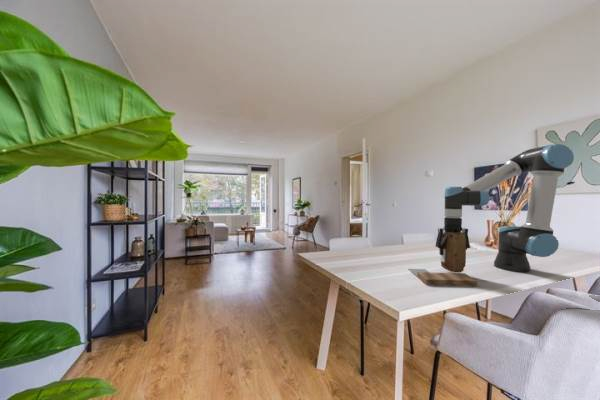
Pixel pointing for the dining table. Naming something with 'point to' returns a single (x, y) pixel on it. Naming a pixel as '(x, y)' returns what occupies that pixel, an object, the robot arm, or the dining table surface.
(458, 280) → the board
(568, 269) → the dining table surface
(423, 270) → the end pad
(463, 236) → the block
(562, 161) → the robot arm
